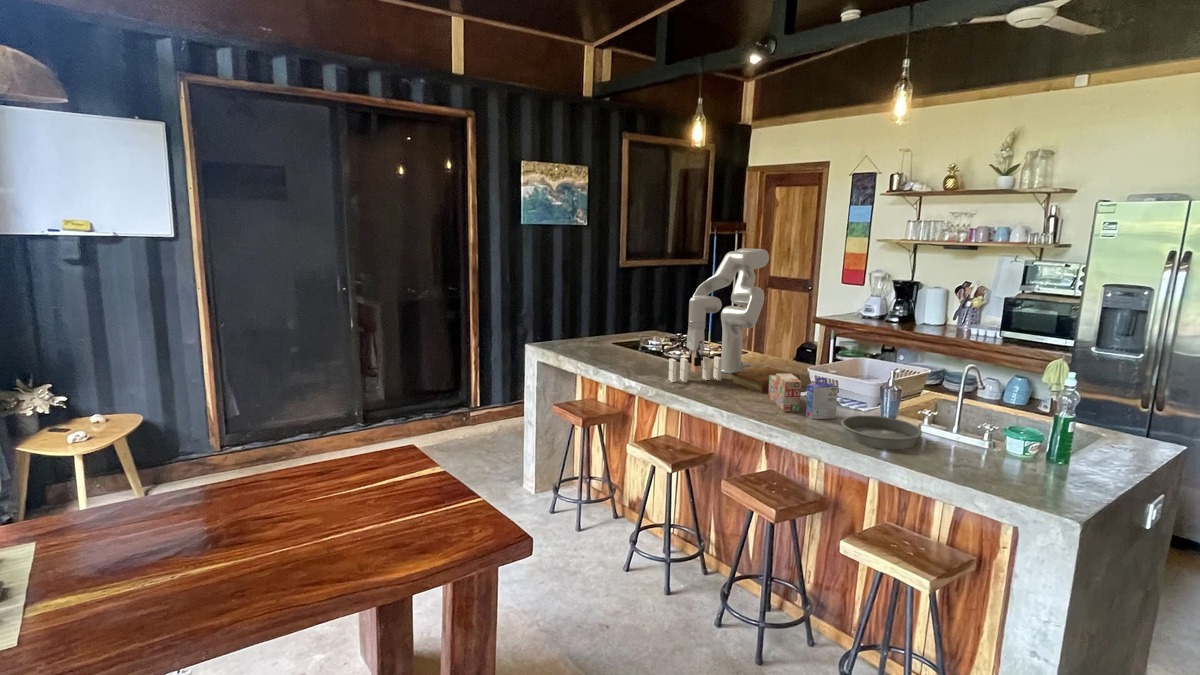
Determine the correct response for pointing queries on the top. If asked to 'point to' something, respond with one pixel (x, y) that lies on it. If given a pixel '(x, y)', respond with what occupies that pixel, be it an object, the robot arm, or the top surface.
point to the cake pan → (898, 440)
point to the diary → (757, 378)
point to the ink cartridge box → (821, 400)
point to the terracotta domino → (693, 368)
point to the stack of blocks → (785, 391)
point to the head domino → (672, 370)
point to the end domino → (717, 367)
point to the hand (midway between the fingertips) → (694, 364)
